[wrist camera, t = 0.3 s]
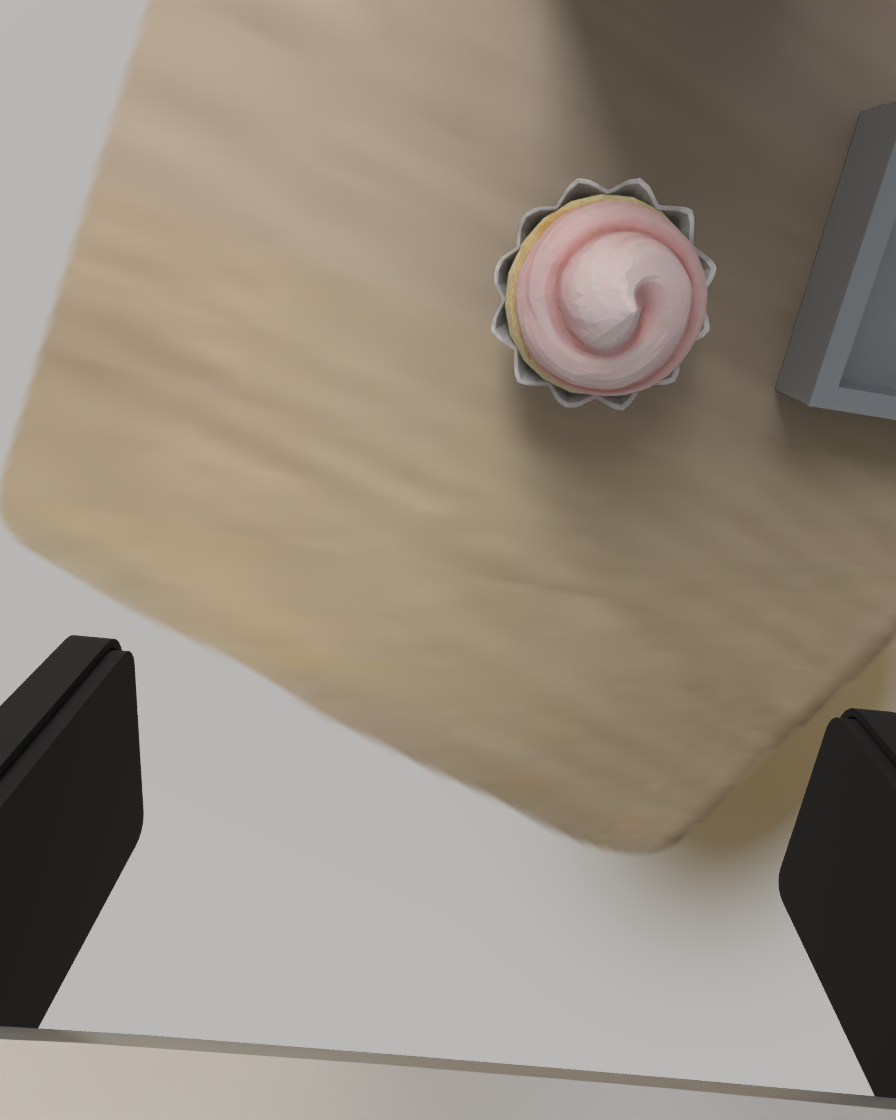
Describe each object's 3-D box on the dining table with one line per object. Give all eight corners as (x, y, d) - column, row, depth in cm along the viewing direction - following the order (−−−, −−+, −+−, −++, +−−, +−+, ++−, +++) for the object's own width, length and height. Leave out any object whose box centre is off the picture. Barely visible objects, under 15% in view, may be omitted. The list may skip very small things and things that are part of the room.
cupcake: (646, 413, 40) (702, 467, 30) (464, 363, 39) (465, 404, 30) (718, 214, 36) (806, 207, 27) (520, 155, 35) (539, 128, 26)
